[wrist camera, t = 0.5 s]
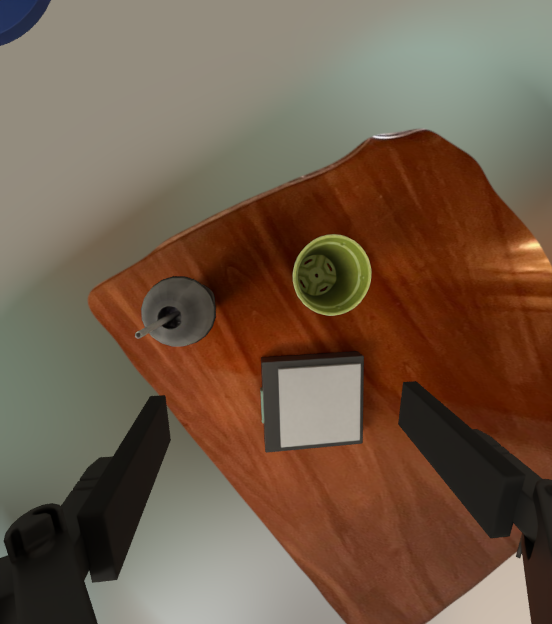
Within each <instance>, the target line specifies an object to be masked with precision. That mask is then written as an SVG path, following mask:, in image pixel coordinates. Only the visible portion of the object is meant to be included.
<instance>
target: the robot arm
mask: <svg viewBox="0 0 552 624" xmlns="http://www.w3.org/2000/svg"><path fill="white" fill-rule="evenodd" d="M398 424H399V426H400V427H401V428H402V429H403V431H404V432H405V433H406V434H407V436H408V437H409V438H410V439H411V441H412V442H413V443H414V444H415V445H416V447H417V448H418V449H419V450H420V452H421V453H422V454H423V455H424V457H425V458H426V459H427V460H428V462H429V463H430V464H431V465H432V467H433V468H434V469H435V470H436V471H437V473H438V474H439V475H440V476H441V478H442V479H443V480H444V481H445V483H446V484H447V485H448V486H449V488H450V489H451V490H452V491H453V493H454V494H455V495H456V496H457V497H458V499H459V500H460V501H461V502H462V504H463V505H464V506H465V507H466V509H467V510H468V511H469V512H470V514H471V515H472V516H473V517H474V519H475V520H476V521H477V522H478V523H479V525H480V526H481V527H482V528H483V530H484V531H485V532H486V533H487V535H488V536H489V537H490V538H498V537H507V536H510V533H511V529H512V526H513V523H514V524H515V525H516V526H517V527H518V528H519V530H520V531H521V532H522V536H521V539H520V543H519V547H518V550H517V555H516V557H518V558H520V557H521V554H522V555H523V563H524V571H525V579H526V586H527V594H528V601H529V608H530V616H531V623H532V624H552V480H549V479H542V478H541V477H539V476H538V475H537V474H536V473H534V472H533V471H532V470H531V469H530V468H528V467H527V466H526V465H525V464H523V463H522V462H521V461H520V460H519V459H517V458H516V457H515V456H514V455H512V454H510V453H509V451H508V450H506V449H505V448H504V447H501V445H500V444H499V443H498V442H497V441H495V440H494V439H493V438H492V437H490V436H489V435H487V434H485V433H483V432H481V431H480V430H478V429H471V428H470V427H469V426H468V425H467V424H465V423H464V422H463V421H462V420H461V419H460V418H458V417H457V416H456V415H455V414H454V413H453V412H451V411H450V410H449V409H448V408H447V407H445V406H444V405H443V404H442V403H441V402H440V401H438V400H437V399H436V398H435V397H434V396H433V395H431V394H430V393H429V392H428V391H427V390H426V389H424V388H423V387H422V386H421V385H420V384H419V383H417V382H416V381H414V382H403V389H402V397H401V406H400V414H399V423H398ZM170 440H171V439H170V431H169V422H168V414H167V405H166V397H165V395H163V396H150V397H149V399H148V401H147V402H146V404H145V406H144V407H143V409H142V410H141V412H140V414H139V415H138V417H137V419H136V420H135V422H134V423H133V425H132V427H131V428H130V430H129V431H128V433H127V435H126V436H125V438H124V440H123V441H122V443H121V444H120V446H119V448H118V450H117V451H116V453H115V454H114V456H113V457H101V458H99V459H97V460H96V461H95V462H94V463H93V464H91V465H90V466H89V467H88V468H87V469H86V471H85V472H84V474H83V475H82V477H81V478H80V481H78V482H77V484H76V485H75V487H74V488H73V491H71V492H70V494H69V495H68V497H67V498H66V500H65V501H64V502H63V504H62V505H61V506H60V505H57V504H53V503H52V504H45V505H41V506H39V507H36V508H34V509H32V510H30V511H28V512H27V513H25V514H24V515H22V516H21V517H20V518H18V519H17V520H16V521H15V522H14V523H13V524H12V525H11V526H10V528H9V529H8V531H7V532H6V534H5V538H4V543H5V546H6V549H7V553H8V556H5V557H2V558H0V624H98V623H97V620H96V617H95V614H94V610H93V607H92V604H91V601H90V598H89V595H88V591H87V588H86V585H85V582H84V580H85V578H86V576H87V574H88V571H90V575H91V579H92V582H102V581H111V580H117V579H118V576H119V573H120V571H121V568H122V566H123V563H124V560H125V558H126V555H127V553H128V550H129V547H130V545H131V542H132V539H133V537H134V534H135V531H136V529H137V526H138V524H139V521H140V518H141V516H142V513H143V511H144V508H145V506H146V503H147V500H148V498H149V495H150V493H151V490H152V487H153V485H154V482H155V479H156V477H157V474H158V472H159V469H160V466H161V464H162V461H163V459H164V456H165V453H166V451H167V448H168V445H169V443H170Z"/></svg>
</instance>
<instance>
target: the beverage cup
mask: <svg viewBox="0 0 552 624" xmlns="http://www.w3.org/2000/svg"><path fill="white" fill-rule="evenodd" d="M141 311H142V321H143V323H144V326H145V328H143V329H142V330H140V331H138V332H136V334H135V337H136V338H141V337H143V336H145V335H146V334H148V333H149V334H150V335H151V336H152V337H153V338H154V339H156V340H157V341H159V342H161V343H163V344H166V345H169V346H186V345H190V344H193V343H196V342H198V341H199V340H201V339H202V338H204V337H205V336H206V335H207V334H208V333H209V331H210V330H211V328H212V327H213V324H214V321H215V318H216V306H215V297H214V294H213V292H212V291H211V290H210V289H209V288H208V287H207V286H205V285H202V284H201V283H199V282H198V281H196V280H194V279H191V278H188V277H183V276H173V277H170V278H166V279H163V280H161V281H160V282H158V283H157V284H156V285H154V286H153V287H152V288H151V290H150V291H149V292H148V294H147V295H146V297H145V298H144V301H143V305H142V308H141Z"/></svg>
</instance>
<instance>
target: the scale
mask: <svg viewBox="0 0 552 624" xmlns="http://www.w3.org/2000/svg"><path fill="white" fill-rule="evenodd" d="M363 367H364V356H363V355H362V354H360V353H359V352H357V351H354V352H338V353H322V354H306V355H290V356H274V357H261V369H262V388H260V389H261V411H262V423H264V439H265V451H266V452H276V451H287V450H298V449H308V448H319V447H330V446H340V445H351V444H361V443H363Z"/></svg>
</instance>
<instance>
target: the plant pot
mask: <svg viewBox="0 0 552 624" xmlns="http://www.w3.org/2000/svg"><path fill="white" fill-rule="evenodd" d="M309 259H312V261H311V262H308V263H307V264H306V265H304V263H305V262H306V261H307V260H309ZM327 263H329V265H330V266H331V268H332V271H330V269H329V267H328V265H327ZM315 274H318V277H315ZM300 280H302V282H303V284H304V285H305V287H306V288H304V287H303V286H302V285H301V283H300ZM370 282H371V266H370V262H369V259H368V257H367V255H366V253H365V251H364V250H363V249H362V247H361V246H360V245H359V244H358V243H356V242H355V241H354V240H352V239H350V238H348V237H345V236H342V235H335V234H332V235H325V236H321V237H319V238H317V239H315V240H313V241H312V242H310V243H309V244H308V245H307V246H306V247H305V248H304V249H303V250H302V251H301V253H300V254H299V256H298V257H297V259H296V262H295V265H294V269H293V284H294V288H295V291H296V293H297V295H298V297H299V299H300V300H301V301H302V302H303V304H304V305H305V306H307V307H308V308H309V309H311V310H312V311H314V312H316V313H319V314H323V315H330V316H333V315H340V314H343V313H346V312H348V311H350V310H352V309H353V308H354V307H356V306H357V305H358V304H359V303H360V302H361V301H362V299H363V298H364V296H365V295H366V293H367V291H368V289H369V286H370ZM326 286H328V287H327V288H326V290H324V291H322V292H320V290H321V289H323V288H325V287H326Z"/></svg>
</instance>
